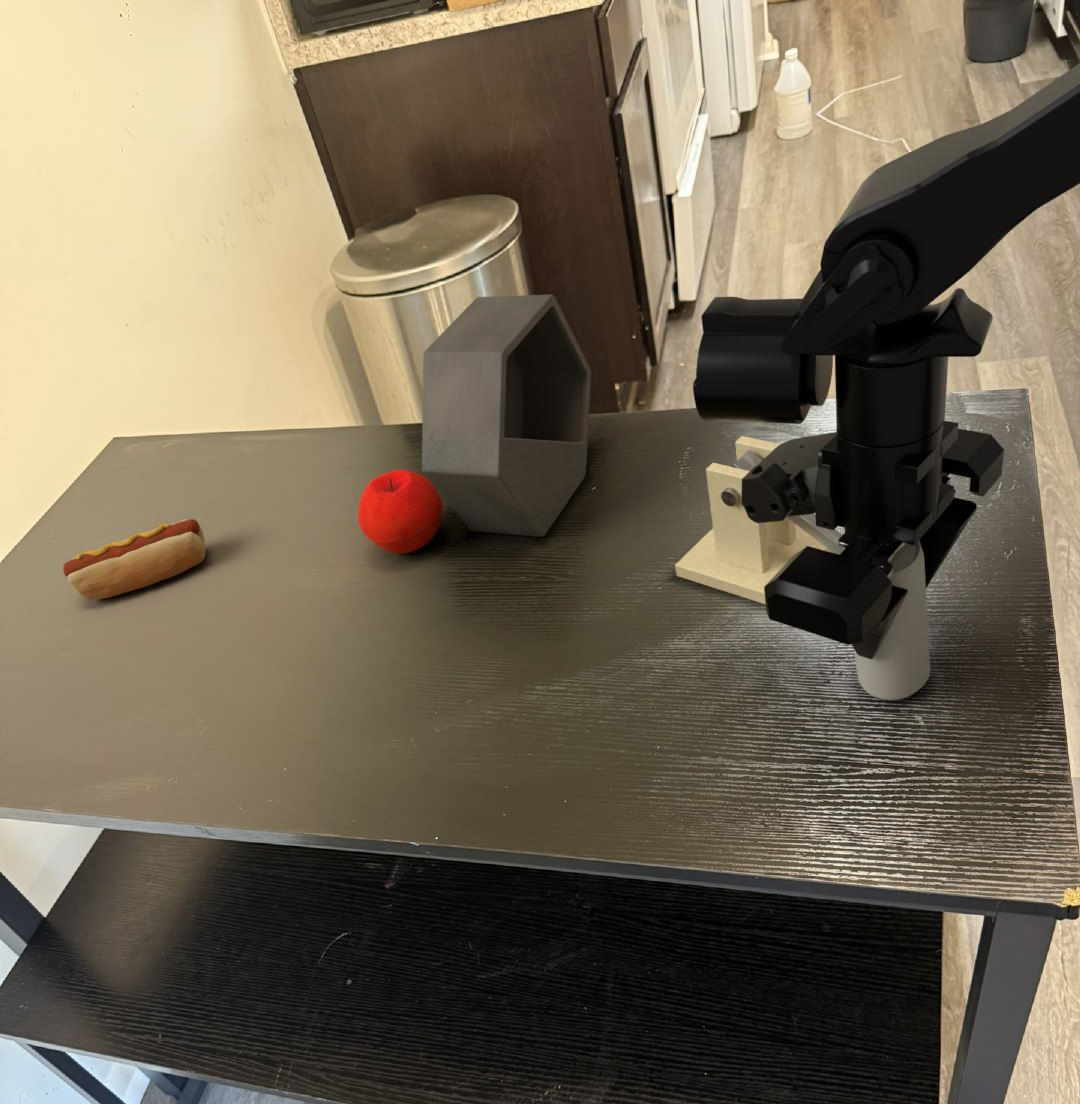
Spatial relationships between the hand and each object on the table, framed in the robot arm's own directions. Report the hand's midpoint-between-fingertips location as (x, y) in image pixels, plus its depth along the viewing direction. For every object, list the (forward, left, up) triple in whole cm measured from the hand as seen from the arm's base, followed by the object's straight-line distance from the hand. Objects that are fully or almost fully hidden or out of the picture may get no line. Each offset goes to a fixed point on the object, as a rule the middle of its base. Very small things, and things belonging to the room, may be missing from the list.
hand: (886, 631), depth 67 cm
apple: (+35, -31, -5) cm, 47 cm away
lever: (+3, -15, 0) cm, 15 cm away
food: (+63, -36, -5) cm, 73 cm away
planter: (+23, -34, -5) cm, 42 cm away
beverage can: (-1, 0, -5) cm, 5 cm away
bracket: (+5, -17, -5) cm, 19 cm away
